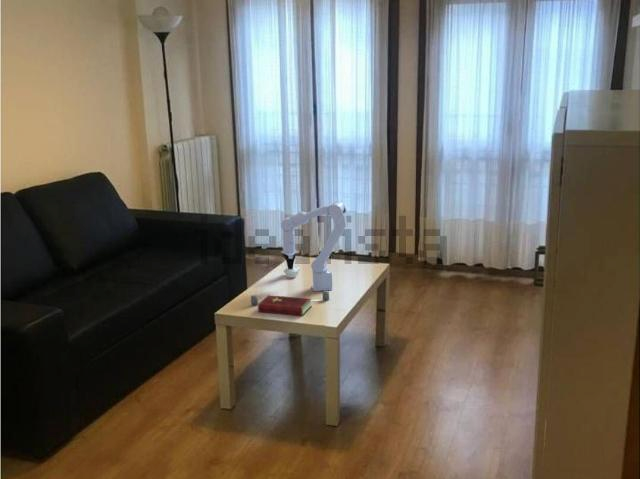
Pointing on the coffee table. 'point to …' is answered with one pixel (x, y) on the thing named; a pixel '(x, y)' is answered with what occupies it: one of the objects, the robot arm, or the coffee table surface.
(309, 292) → the coffee table surface
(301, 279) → the coffee table surface
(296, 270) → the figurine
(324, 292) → the strip
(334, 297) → the coffee table surface
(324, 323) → the coffee table surface
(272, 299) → the hardcover book
